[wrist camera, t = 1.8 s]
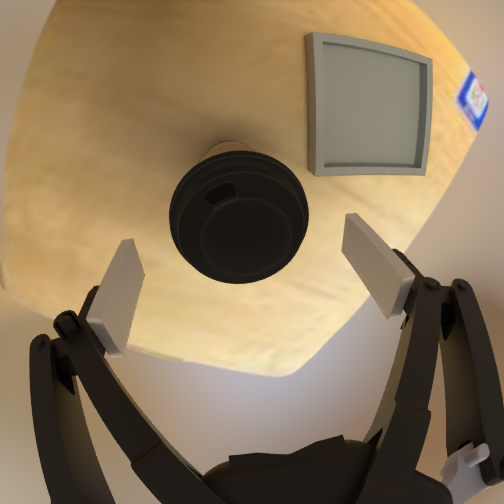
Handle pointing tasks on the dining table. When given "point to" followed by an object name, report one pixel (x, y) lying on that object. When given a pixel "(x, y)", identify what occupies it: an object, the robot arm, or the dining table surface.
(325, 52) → the tray
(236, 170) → the coffee cup
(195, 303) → the dining table surface
